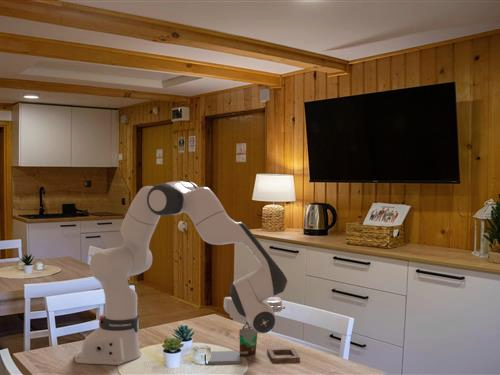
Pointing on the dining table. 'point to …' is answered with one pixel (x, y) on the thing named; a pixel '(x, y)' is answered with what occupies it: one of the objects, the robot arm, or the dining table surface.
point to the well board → (292, 358)
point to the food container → (247, 340)
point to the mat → (224, 357)
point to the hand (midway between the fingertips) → (250, 298)
